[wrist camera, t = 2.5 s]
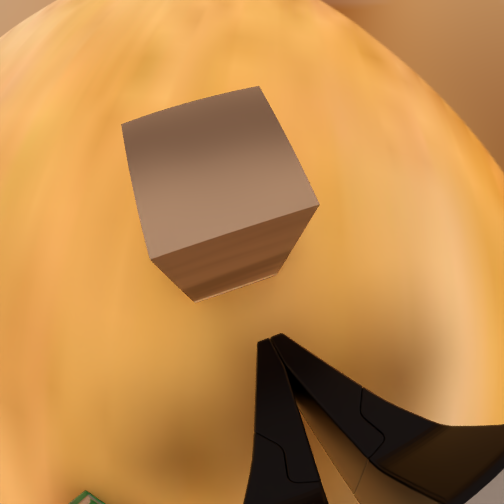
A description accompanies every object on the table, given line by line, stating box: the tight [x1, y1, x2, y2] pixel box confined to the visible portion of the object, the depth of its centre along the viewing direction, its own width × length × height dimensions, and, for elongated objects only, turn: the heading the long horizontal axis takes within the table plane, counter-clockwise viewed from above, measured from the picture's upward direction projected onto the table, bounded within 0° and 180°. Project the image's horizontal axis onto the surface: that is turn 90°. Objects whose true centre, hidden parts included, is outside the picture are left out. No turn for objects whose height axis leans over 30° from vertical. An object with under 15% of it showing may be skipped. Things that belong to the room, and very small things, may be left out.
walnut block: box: [121, 86, 320, 303], centre depth 14 cm, size 5×5×10 cm
